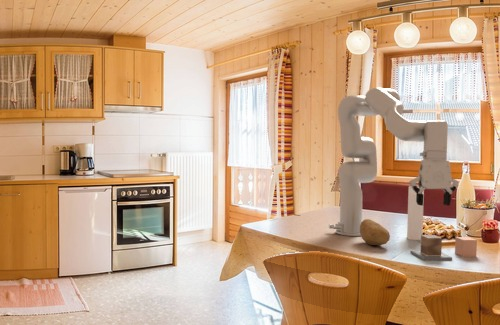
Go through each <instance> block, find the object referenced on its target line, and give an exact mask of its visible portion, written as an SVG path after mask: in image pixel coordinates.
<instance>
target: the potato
mask: <svg viewBox="0 0 500 325" xmlns="http://www.w3.org/2000/svg"><path fill="white" fill-rule="evenodd" d="M360 234H361V236H360V237H361V239H362V240H363V242H365V243H366V244H368V245H369V246H382V245H386V244H387V243H388V242H389V241H390V239H391V238H390V237H391V235H390V232H389V231H388V230H387V228H385V227H384V226H382V225H381V224H380V223H378V222H376V221H374V220H372V219H368V218H367V219H362V222H361V225H360Z"/></svg>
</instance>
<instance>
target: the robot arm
mask: <svg viewBox="0 0 500 325" xmlns="http://www.w3.org/2000/svg"><path fill="white" fill-rule="evenodd" d="M403 112H404V104H402V102H401V97H400V95H399V92H397V90H395V89H393V88H392V89H391V88H383V87H374V88H373V87H372V88H370V89H369V90H367V92H366V93H365V95H358V94H357V95H355V94H354V95H353V94H352V95H347V96H345V97H344V98H342V99H341V100H340V101H339V104H338V107H337V118H338V122H339V128H340V129H339V130H340V149H341V155H342V156H343V157H344V158H346V159H359V161H357V160H356V161H355V160H353V161H345V162H343V163H341V164H340V166H339V168H338V170H337V171H338V181H339V192H340V194H339V201H340V202H339V203H340V204H339V206H340V207H339V221H337V223H335V224H334V223H330V224H329V223H328V229H330V230H331V229H332V230H335V233H336V234H338V235H341V236H348V237H358V236H359V237H361V234H360V225H361V222H362V221H363V197H364V196H363V190H362V188H361V186H360V184H367V183H368V184H369V183H372V182H374V181H375V180H376V178H377V175H378V161H377V160H378V159H377V158H378V156H377V155H378V154H377V146H376V143H375V141H374V139H372V138H370V137H368V136H362V134H361V126H360V123H359V121H358V119H357V118H356V116H361V117H375V116H380V117H381V118H382V119H384V124H385V128H386V130H387V131H388V132H390V133H391V134H392V135H393V136H395V137H396V139H399V140H400V141H403V142H416V143H417V142H420V143H421V142H423V150H422V152H420V153H419V157H422V159H421V161H420V165H419V170H418V175H417V177H416V176H415V177H414V178H413V179H410V180H409V182H408V183H409V186H412V189H413V190H414V191H415V193H417V194H416V202H417V204H418V205H423V206H424V204H423V194H422V192H423V191H424V192H425V190H426V189H427V190H442V191H444V193H443V203H442V204H443V205H444V206H448V207H449V206H451V202H452V201H451V200H452V194H453V193H454V192H455V191H456V190H457V187H458V185H459V182H460V181H458V180H457V179H454V178H453V177H452V169H451V163H450V160H447V158H448V157H447V156H448V154H447V153H448V135H449V134H448V133H449V132H448V130H449V128H448V127H449V124H448V122H447V121H446V120H437V119H435V120H427V121H426V120H413V119H412V120H409V119H406V118H405V117H403V116H402V115H403ZM416 183H417V185H416ZM417 186H419V187H417Z"/></svg>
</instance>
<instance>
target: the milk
mask: <svg viewBox="0 0 500 325" xmlns="http://www.w3.org/2000/svg"><path fill="white" fill-rule="evenodd" d="M416 186H417V187H419V185H416ZM424 192H425V190H424V191H423V192H422V194H423V205H418V204H417V202H416V194H417V193H415V191H414V190H413V189H412V186H411V185H409V186H408V195H407V196H408V197H407V227H406V228H407V229H406V230H407V231H406V240H409V241H420V242H421V235H424V234H423V233H424V232H423V230H424V229H423V228H424V201H425V200H424V198H425V193H424Z"/></svg>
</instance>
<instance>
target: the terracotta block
mask: <svg viewBox="0 0 500 325" xmlns="http://www.w3.org/2000/svg"><path fill="white" fill-rule="evenodd" d="M454 240H455V243H454V254H455V255H458V256H460V257H463V258H467V257H468V258H475V257H476V258H477V251H478V250H477V246H478V240H477V239H475V238H472V237H470V236H455V239H454Z"/></svg>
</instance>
